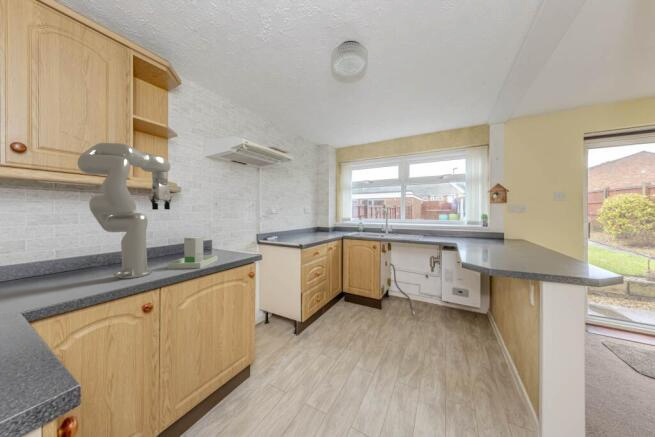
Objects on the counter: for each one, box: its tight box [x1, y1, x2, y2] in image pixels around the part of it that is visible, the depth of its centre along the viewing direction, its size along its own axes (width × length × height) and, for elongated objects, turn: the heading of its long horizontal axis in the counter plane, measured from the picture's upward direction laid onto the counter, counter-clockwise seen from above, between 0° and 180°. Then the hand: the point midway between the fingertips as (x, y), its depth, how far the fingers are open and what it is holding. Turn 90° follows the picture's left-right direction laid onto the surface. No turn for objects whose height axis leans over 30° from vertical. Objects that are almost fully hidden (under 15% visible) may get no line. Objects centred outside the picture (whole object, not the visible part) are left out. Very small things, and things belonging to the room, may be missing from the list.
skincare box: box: [183, 236, 204, 263], centre depth 136 cm, size 8×7×16 cm
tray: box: [166, 255, 219, 270], centre depth 136 cm, size 20×18×3 cm
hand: (161, 209), depth 141 cm, fingers open, 9 cm apart
